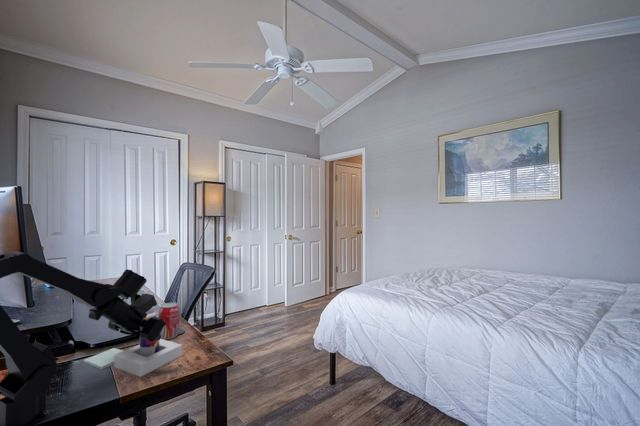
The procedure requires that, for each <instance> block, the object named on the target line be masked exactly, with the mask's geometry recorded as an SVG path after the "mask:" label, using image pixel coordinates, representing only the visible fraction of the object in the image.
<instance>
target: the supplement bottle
mask: <svg viewBox="0 0 640 426" xmlns="http://www.w3.org/2000/svg"><path fill="white" fill-rule="evenodd" d="M145 313H147V314H148V315H147V316H146V317H145V318H143V319H145V320H149V319H150V318H151V317H157V312H155V306H154V307H153V308H151V309H150V310H149V311H147V312H145Z"/></svg>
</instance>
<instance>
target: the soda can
mask: <svg viewBox="0 0 640 426" xmlns="http://www.w3.org/2000/svg"><path fill="white" fill-rule="evenodd" d="M157 315H158V318H162V319H163V320H165V321H166V324H165V326H164V327H163V329H162V330H161V331H160V335H161V339H163V340H167V341H169V340H172V339H174V338H175V337H177V336H178V335H179V332H180V331H179V330H180V307H179V303H178V302H172V301H171V302H165V303H163V304H160V307H159V310H158V314H157Z"/></svg>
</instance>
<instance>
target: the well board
mask: <svg viewBox="0 0 640 426" xmlns="http://www.w3.org/2000/svg"><path fill="white" fill-rule="evenodd" d="M122 351H123V352H120V353H118V354H116V355H114V364H113V368H116V369H119V370H120V371H123V372H126V373H129V374H132V375H134V376H137V377H144V376H146V375H147V374H149V373H151V372H153V371H155V370H156V369H158V368H160V367H162V366H164V365H167V364H168V363H171V361H174V360H176V359H178V358H180V357H181V356H182V355H183V345H182V344H181V343H176V342H173V341H169V340H163V339H160V340H159V352H157V353H154V354H152V355H150V356H148V357H145V356H142V355H139V351H140V344H138V345H135V346H133V347H131V348H130V347H129V348H127V349H126V350H122Z"/></svg>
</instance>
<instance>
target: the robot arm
mask: <svg viewBox="0 0 640 426" xmlns="http://www.w3.org/2000/svg"><path fill="white" fill-rule="evenodd" d="M16 273H18V274H20V275H22V276H25V277H28V278H29V279H33V280H34V281H38V282H41V283H42V284H45V285H47V286H50V287H52V288H54V289H58V290H60V291H62V292H63V293H65V294H66V295H67V296H68V297H69V298H71V299H72V300H73V301H75V302H77V303H78V304H83V305H86V306H89V307H93V308H90V309H89V314H88V318H89V319H91V320H94V321H99V320H100V319H101V318H102V317H103V318H105V319H106V320H108V323H107V327H108V328H109V329H110V330H112V331H114V332H116V333H117V332H119V333H121V334H123V335H128V336H129V335H130V336H139V340H140V339H143V340H147V341H150V342H152V341H154V340H160V339H161V335H160V331H161V330H162V329H163V327H164V326H165V324H166V321H165V320H163V319H162V318H158V317H157V316H156V317H151V318H150V319H149V320H145V319H143V318H145V317H146V316H147V315H148V314H147V313H145V312H147V311H149V310H150V309H151V308H153V307H154V308H155V307H156V306H157V305H158V302H157V300H156V297H155V296H154V294H151V293H141V295H140V294H139V292H140V291H141V289H142V288H143V287H144V285H145V284H146V283H147V279H146V278H145V276H143V275H140V274H138V273H136V272H134V271H133V270H132V269H129V268H128V269H125V270H124V271H123V272H122V274H121V276H120V277H119V278H118V279H117V280H116V281H115V282H114V284H110V283H101V282H96V281H92V280H87V279H83V278H79V277H76V276H75V275H72V274H71V273H68V272H66V271H64V270H61V269H59V268H57V267H55V266H53V265H50V264H48V263H46V262H43V261H42V260H39V259H37V258H34V257H33V256H32V255H30V254H29V253H25V252H20V251H10V252H6V253H2V254H0V279H2V278H5V277H7V276H10V275H13V274H16ZM129 298H130V304H129V303H127V302H126V301H125V300H128V299H129ZM124 299H125V300H124ZM140 328H142V330H141V331H140ZM140 337H141V338H140ZM0 352H1V353H2V354H3V355H4V359H5V366H6V368H7V370H8V373H6V375H5V376H4V377H3V378H2V379H1V380H0V396H2V397H3V398H0V426H32V425H34V424H36V423H39V422H40V421H42V420H44V419H46V418H47V417H48V414H47V413H46V411H47V410H46V409H47V391H48V388H49V386H50V383H51V382H52V379H53V378H54V377H55V375H56V373H57V370H59V365H58V362H57V361H59V357H56V356H55V355H54V354H53V352H52V349H51V348H50V347H49V346H47V345H45V344H42V343H40V342H37V341H34V342H33V343H31V342H30V341H29V339H27V337H26V336H25V335H24V333H23V332H22V331H21V330H20V328H19V327H18V326H17V324H16V323H15V322H14V321H13V319H12V318H11V316H9V314H8V313H7V312H6V310H5V309H4V308H3V307H2V306H1V305H0Z"/></svg>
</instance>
